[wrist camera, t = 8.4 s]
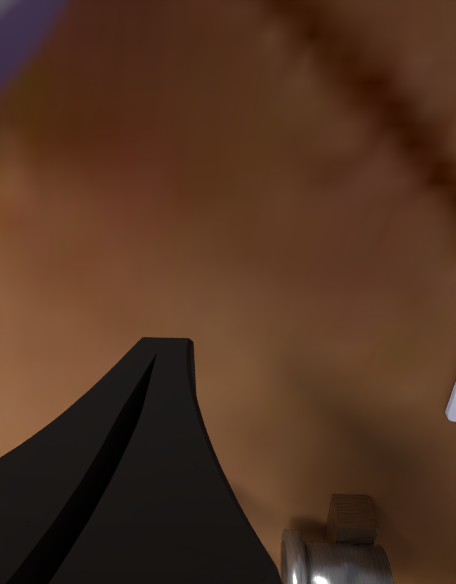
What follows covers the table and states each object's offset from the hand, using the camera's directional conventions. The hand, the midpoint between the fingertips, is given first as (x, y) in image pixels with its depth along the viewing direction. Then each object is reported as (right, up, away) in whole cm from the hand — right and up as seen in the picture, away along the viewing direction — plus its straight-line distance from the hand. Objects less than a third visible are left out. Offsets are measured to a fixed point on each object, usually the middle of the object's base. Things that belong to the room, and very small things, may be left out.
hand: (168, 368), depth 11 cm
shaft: (+8, -14, +17) cm, 24 cm away
